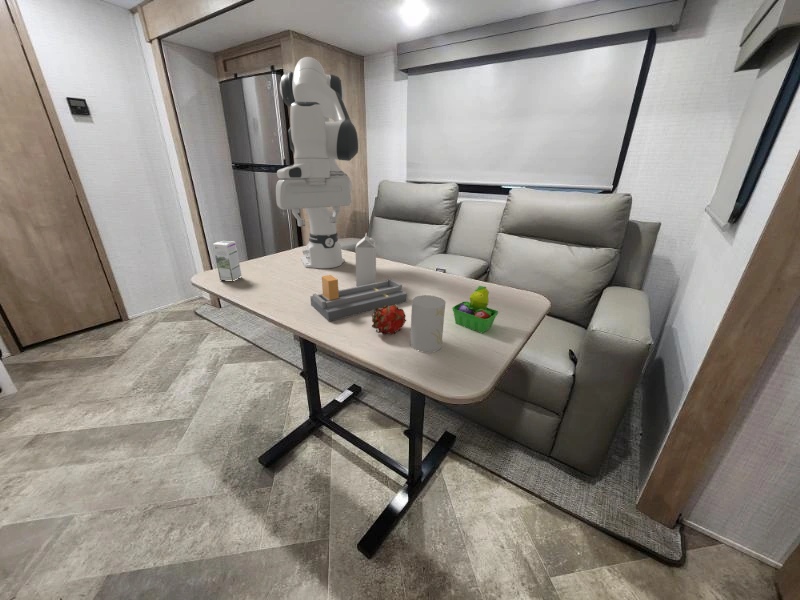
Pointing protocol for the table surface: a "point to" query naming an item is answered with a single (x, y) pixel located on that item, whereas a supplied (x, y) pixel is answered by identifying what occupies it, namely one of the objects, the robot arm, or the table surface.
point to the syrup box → (227, 260)
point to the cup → (427, 323)
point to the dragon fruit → (388, 319)
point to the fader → (330, 288)
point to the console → (360, 300)
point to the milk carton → (365, 261)
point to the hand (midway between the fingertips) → (318, 224)
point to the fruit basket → (475, 311)
